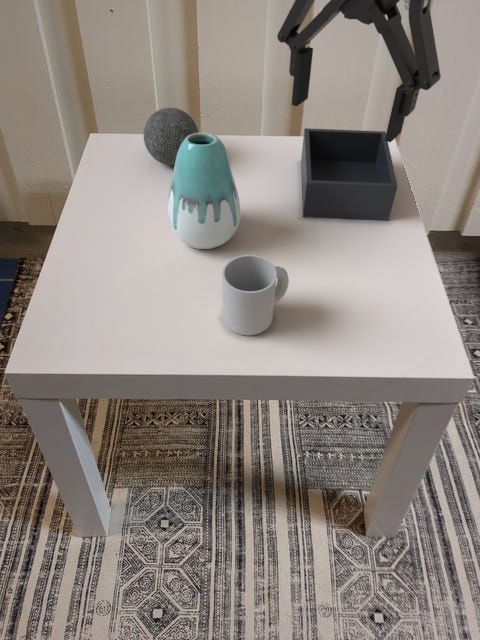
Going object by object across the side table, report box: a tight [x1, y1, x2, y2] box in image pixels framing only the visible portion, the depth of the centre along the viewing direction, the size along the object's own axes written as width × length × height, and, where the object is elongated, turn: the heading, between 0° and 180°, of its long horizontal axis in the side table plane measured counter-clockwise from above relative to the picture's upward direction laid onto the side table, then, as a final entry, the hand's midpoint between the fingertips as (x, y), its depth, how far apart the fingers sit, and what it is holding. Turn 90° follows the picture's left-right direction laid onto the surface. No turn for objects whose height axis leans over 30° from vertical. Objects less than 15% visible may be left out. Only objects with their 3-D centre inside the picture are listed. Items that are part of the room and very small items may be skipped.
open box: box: [300, 127, 398, 222], centre depth 99 cm, size 17×15×7 cm
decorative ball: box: [143, 107, 199, 166], centre depth 103 cm, size 10×10×10 cm
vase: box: [166, 132, 242, 250], centre depth 86 cm, size 12×12×18 cm
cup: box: [221, 254, 290, 336], centre depth 78 cm, size 7×10×9 cm
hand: (344, 118), depth 71 cm, fingers open, 13 cm apart
